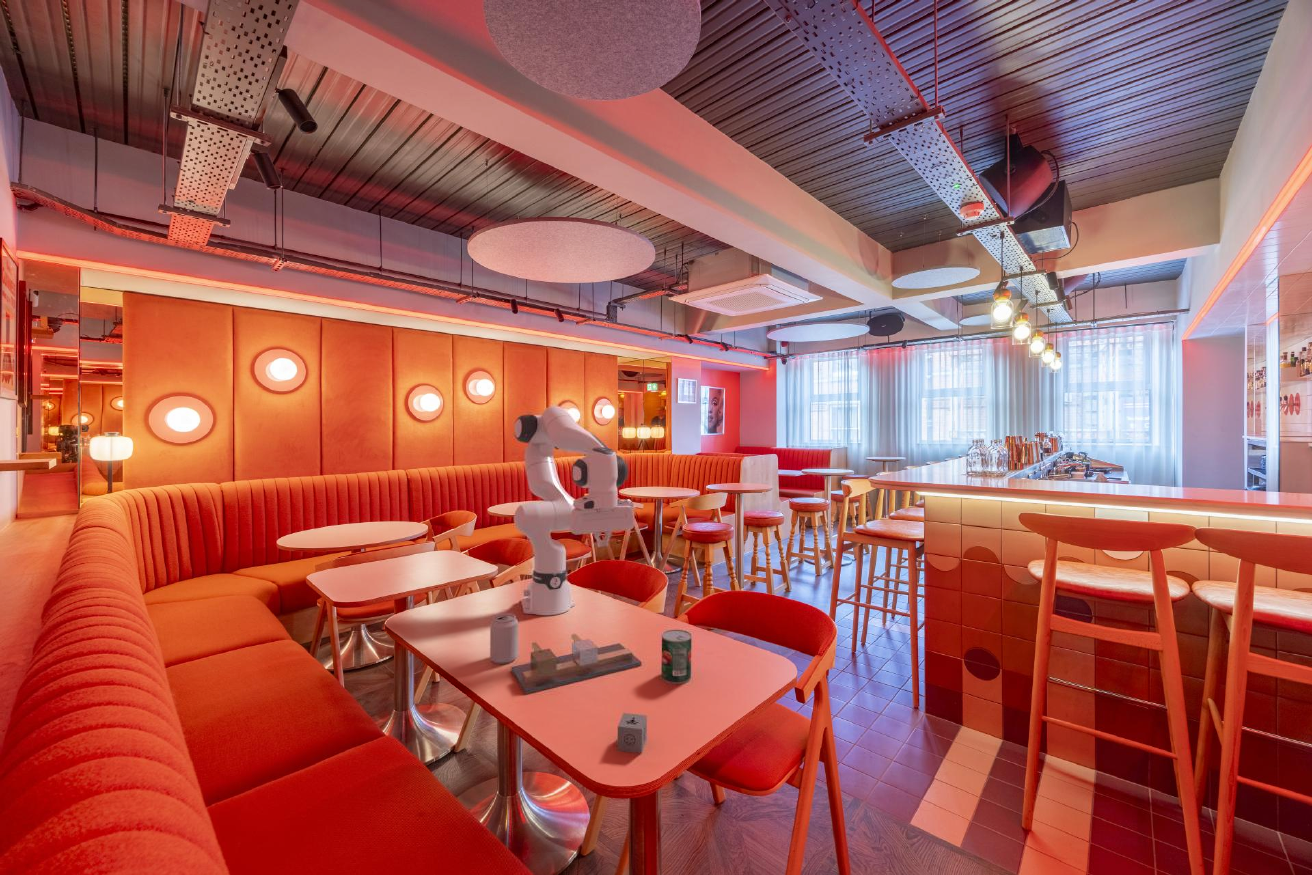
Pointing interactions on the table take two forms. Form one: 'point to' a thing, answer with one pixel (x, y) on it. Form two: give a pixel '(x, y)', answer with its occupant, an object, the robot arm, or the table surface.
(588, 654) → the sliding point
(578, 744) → the table surface
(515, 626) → the can
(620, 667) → the bolt plate
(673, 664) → the canned tomato
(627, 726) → the dice cube
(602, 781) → the table surface
